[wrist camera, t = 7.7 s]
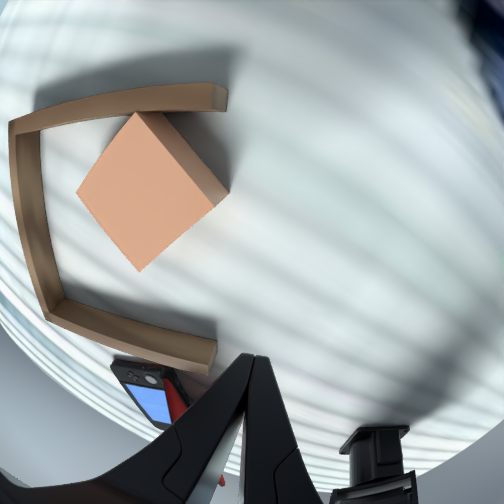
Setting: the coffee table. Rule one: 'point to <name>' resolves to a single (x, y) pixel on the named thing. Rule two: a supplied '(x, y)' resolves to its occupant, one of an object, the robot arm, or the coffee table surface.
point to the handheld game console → (154, 392)
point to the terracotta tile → (149, 188)
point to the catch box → (37, 235)
